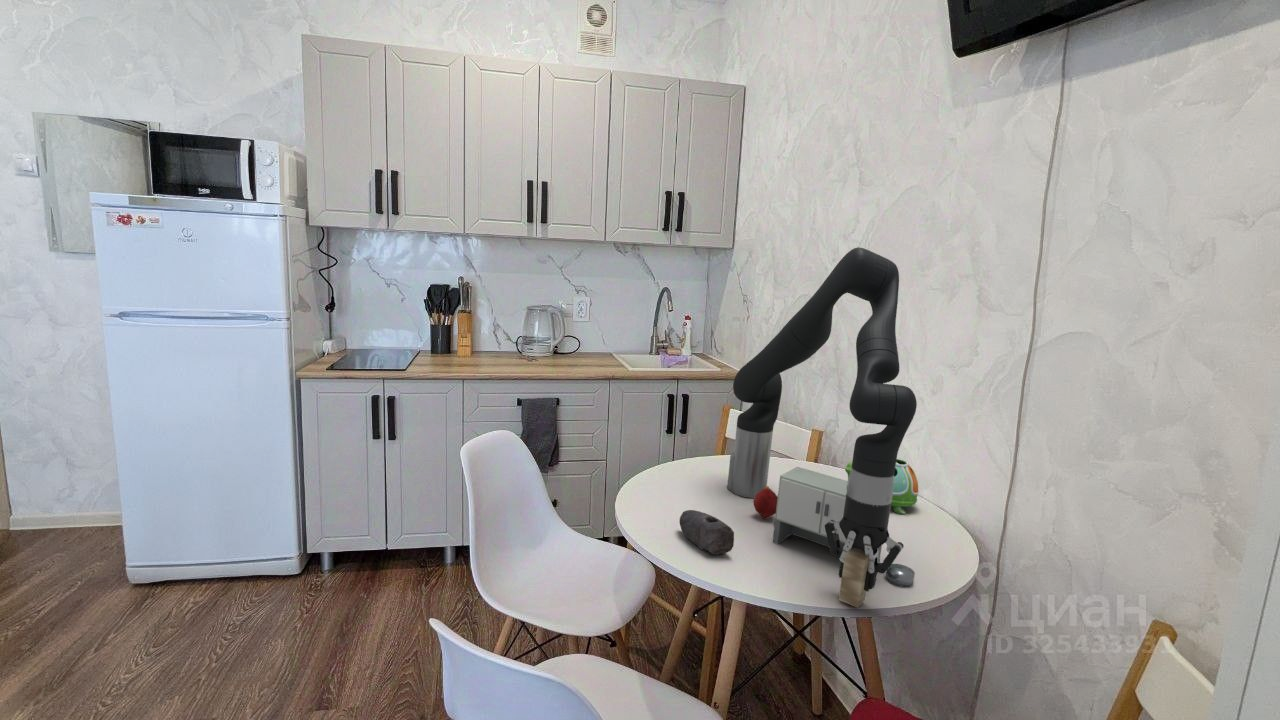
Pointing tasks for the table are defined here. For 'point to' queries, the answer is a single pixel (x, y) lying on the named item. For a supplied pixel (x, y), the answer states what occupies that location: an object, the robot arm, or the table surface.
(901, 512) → the turtle holder
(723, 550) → the perforated stone tool
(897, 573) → the steel puck
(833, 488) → the cabinet
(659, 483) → the table surface
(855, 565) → the blade tool
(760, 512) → the onion
